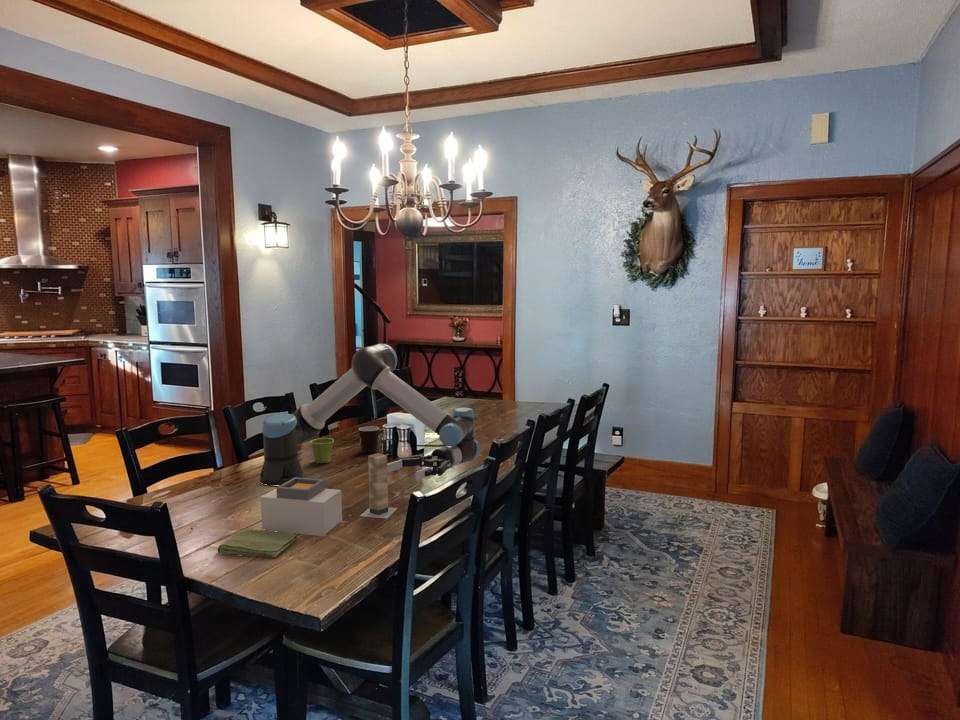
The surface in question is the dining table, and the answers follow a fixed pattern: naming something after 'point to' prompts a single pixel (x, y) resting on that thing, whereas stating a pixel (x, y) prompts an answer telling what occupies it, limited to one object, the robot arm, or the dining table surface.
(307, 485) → the button
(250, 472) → the dining table surface
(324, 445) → the plant pot
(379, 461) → the beige tall cylinder
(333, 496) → the switch box
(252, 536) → the washcloth
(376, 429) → the coffee mug
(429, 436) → the serving platter
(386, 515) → the white paper sheet
